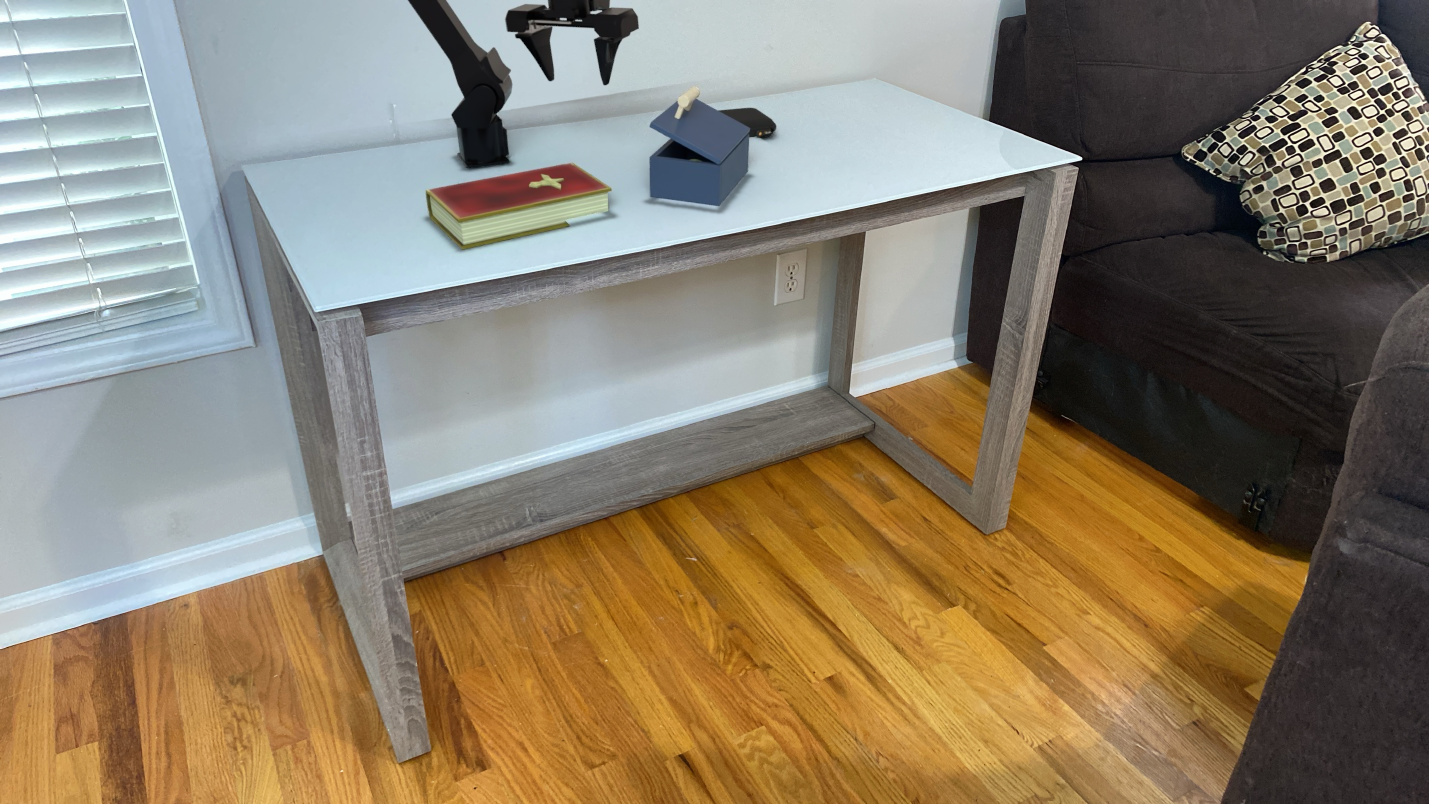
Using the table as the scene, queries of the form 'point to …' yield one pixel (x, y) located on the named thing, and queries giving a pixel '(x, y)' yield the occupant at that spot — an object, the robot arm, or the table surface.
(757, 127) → the carrying case
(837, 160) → the table surface
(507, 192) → the hardcover book
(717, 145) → the lunchbox lid
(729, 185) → the box
